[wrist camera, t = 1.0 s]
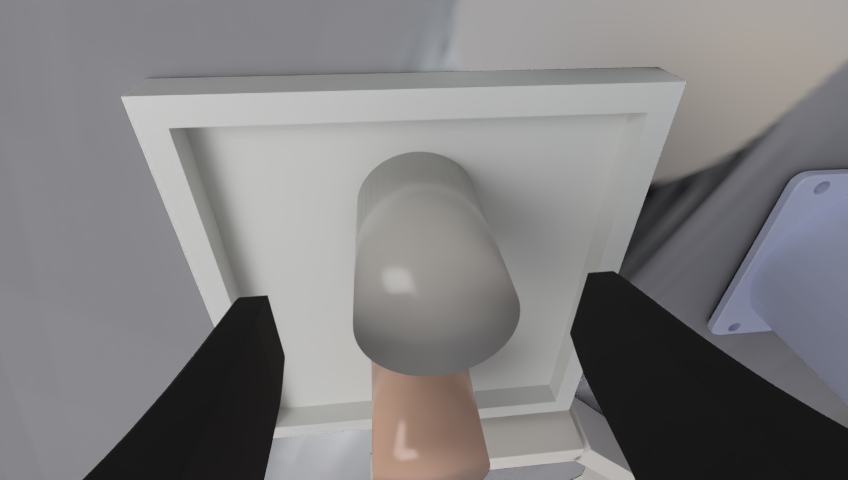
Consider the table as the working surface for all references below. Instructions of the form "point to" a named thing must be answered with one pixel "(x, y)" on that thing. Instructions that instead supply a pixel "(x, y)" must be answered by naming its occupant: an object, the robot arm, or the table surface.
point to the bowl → (556, 442)
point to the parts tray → (342, 179)
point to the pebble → (428, 270)
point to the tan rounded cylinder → (426, 427)
